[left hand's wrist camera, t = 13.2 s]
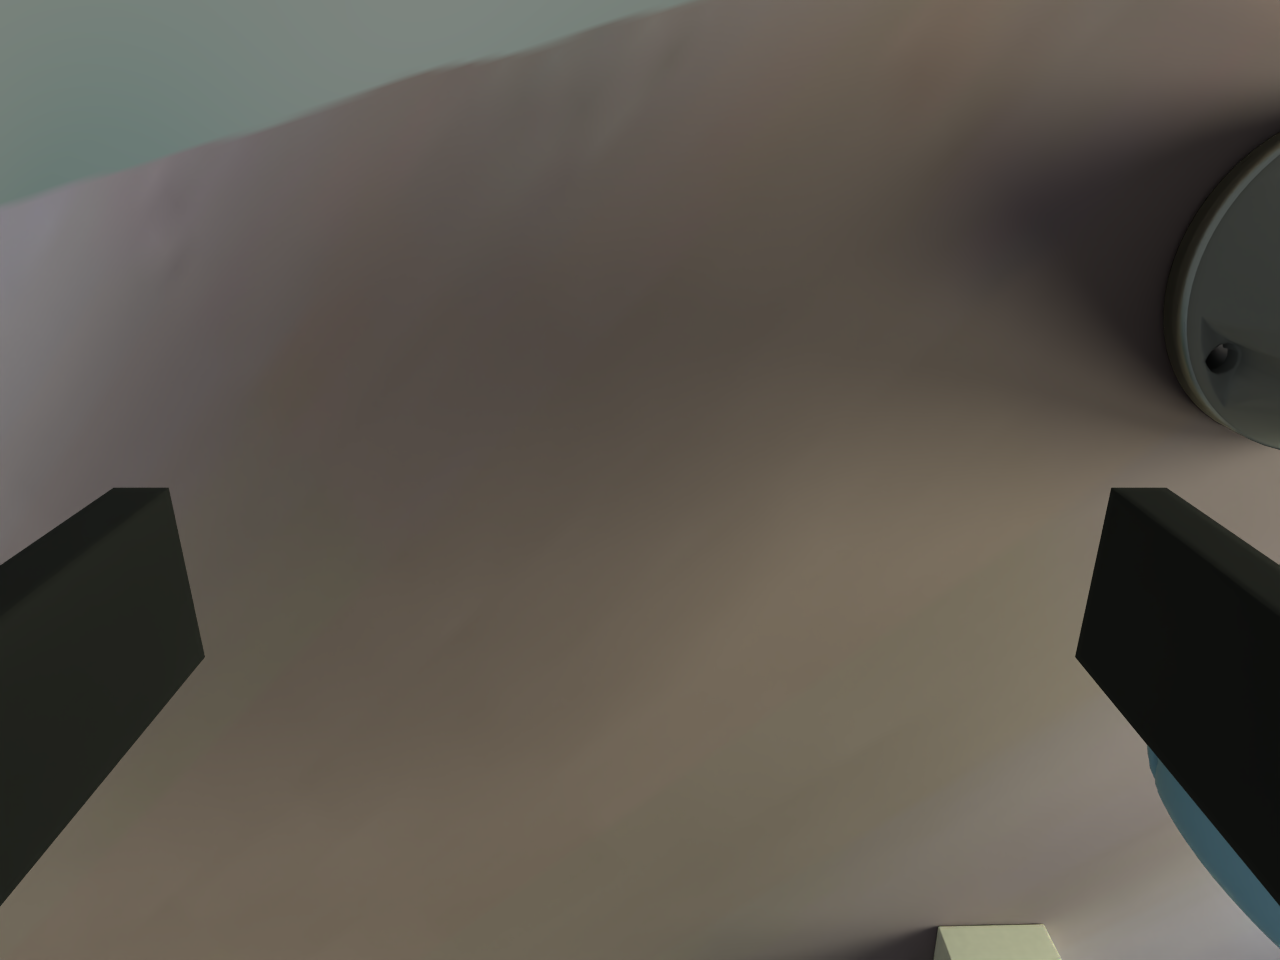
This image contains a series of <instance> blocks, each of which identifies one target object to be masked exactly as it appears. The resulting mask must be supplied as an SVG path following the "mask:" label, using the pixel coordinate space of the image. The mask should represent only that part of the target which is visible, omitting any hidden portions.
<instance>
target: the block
mask: <svg viewBox="0 0 1280 960" xmlns="http://www.w3.org/2000/svg"><path fill="white" fill-rule="evenodd" d="M934 960H1061V958H1060V956H1059V954H1058V952H1057V950H1056V948H1055V946H1054V944H1053V942H1052V940H1051V938H1050V936H1049V934H1048V932H1047V930H1046V928H1045V927H1044V925H1043V924H1033V925H986V926H939V927H938V932H937V939H936V946H935V953H934Z"/></svg>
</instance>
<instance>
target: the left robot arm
mask: <svg viewBox="0 0 1280 960" xmlns="http://www.w3.org/2000/svg"><path fill="white" fill-rule="evenodd" d="M1163 327H1164V337H1165V344H1166V348H1167V353H1168V357H1169V360H1170V363H1171V366H1172V369H1173V371H1174V373H1175V375H1176V377H1177V379H1178V381H1179V383H1180V385H1181V386H1182V388H1183V389H1184V391H1185V392H1186V394H1187V395H1188V396H1189V398H1190V399H1191V400H1192V401H1193V402H1194V404H1195V405H1197V406H1198V407H1199V408H1200V409H1201V410H1202V411H1203V412H1204V413H1205V414H1207V415H1208V416H1209V417H1211V418H1212V419H1213V420H1215V421H1216V422H1218V423H1220V424H1222V425H1223V426H1225V427H1227V428H1229V429H1231V430H1233V431H1235V432H1237V433H1239V434H1241V435H1243V436H1244V437H1246V438H1248V439H1250V440H1253V441H1255V442H1257V443H1260V444H1262V445H1265V446H1268V447H1272V448H1275V449H1279V450H1280V132H1279V133H1278V134H1276V135H1274V136H1273V137H1271V138H1270V139H1268V140H1267V141H1265V142H1264V143H1263V144H1261V145H1260V146H1259V147H1257V148H1256V149H1255V150H1253V151H1252V152H1251V153H1250V154H1249V155H1247V156H1246V157H1245V158H1244V159H1243V160H1242V161H1241V162H1239V163H1238V164H1237V165H1236V166H1235V167H1234V168H1233V169H1232V170H1231V171H1230V172H1229V173H1228V174H1227V175H1226V176H1225V177H1224V178H1223V179H1222V181H1221V182H1220V183H1219V184H1218V185H1217V187H1216V188H1215V189H1214V190H1213V191H1212V192H1211V194H1210V195H1209V196H1208V198H1207V199H1206V201H1205V202H1204V203H1203V205H1202V206H1201V208H1200V209H1199V210H1198V212H1197V214H1196V215H1195V217H1194V219H1193V220H1192V222H1191V224H1190V225H1189V227H1188V229H1187V231H1186V233H1185V235H1184V237H1183V239H1182V241H1181V243H1180V246H1179V248H1178V251H1177V253H1176V256H1175V258H1174V261H1173V264H1172V267H1171V271H1170V274H1169V278H1168V283H1167V287H1166V292H1165V301H1164V312H1163ZM204 657H205V656H204V651H203V646H202V642H201V637H200V632H199V628H198V623H197V618H196V614H195V609H194V604H193V600H192V595H191V590H190V586H189V581H188V576H187V572H186V567H185V562H184V558H183V553H182V548H181V544H180V539H179V534H178V529H177V525H176V520H175V515H174V511H173V506H172V501H171V497H170V492H169V488H113V489H111V490H110V491H108V492H107V493H105V494H104V495H102V496H101V497H99V498H98V499H96V500H95V501H94V502H92V503H91V504H89V505H88V506H86V507H85V508H83V509H82V510H80V511H79V512H78V513H76V514H75V515H73V516H72V517H70V518H69V519H67V520H66V521H64V522H63V523H62V524H60V525H59V526H57V527H56V528H54V529H53V530H51V531H50V532H48V533H47V534H45V535H44V536H43V537H41V538H40V539H38V540H37V541H35V542H34V543H32V544H31V545H29V546H28V547H27V548H25V549H24V550H22V551H21V552H19V553H18V554H16V555H15V556H13V557H12V558H10V559H9V560H8V561H6V562H5V563H3V564H2V565H0V906H1V905H2V903H3V902H4V901H5V900H6V899H7V897H8V896H9V895H10V894H11V892H12V891H13V890H14V889H15V888H16V886H17V885H18V884H19V883H20V881H21V880H22V879H23V878H24V877H25V875H26V874H27V873H28V872H29V871H30V869H31V868H32V867H33V866H34V864H35V863H36V862H37V861H38V860H39V858H40V857H41V856H42V855H43V853H44V852H45V851H46V850H47V849H48V847H49V846H50V845H51V844H52V842H53V841H54V840H55V839H56V838H57V836H58V835H59V834H60V833H61V832H62V830H63V829H64V828H65V827H66V825H67V824H68V823H69V822H70V821H71V819H72V818H73V817H74V816H75V814H76V813H77V812H78V811H79V810H80V808H81V807H82V806H83V805H84V804H85V802H86V801H87V800H88V799H89V797H90V796H91V795H92V794H93V793H94V791H95V790H96V789H97V788H98V786H99V785H100V784H101V783H102V782H103V780H104V779H105V778H106V777H107V775H108V774H109V773H110V772H111V771H112V769H113V768H114V767H115V766H116V765H117V763H118V762H119V761H120V760H121V758H122V757H123V756H124V755H125V754H126V752H127V751H128V750H129V749H130V747H131V746H132V745H133V744H134V743H135V741H136V740H137V739H138V738H139V737H140V735H141V734H142V733H143V732H144V730H145V729H146V728H147V727H148V726H149V724H150V723H151V722H152V721H153V719H154V718H155V717H156V716H157V715H158V713H159V712H160V711H161V710H162V708H163V707H164V706H165V705H166V704H167V702H168V701H169V700H170V699H171V698H172V696H173V695H174V694H175V693H176V691H177V690H178V689H179V688H180V687H181V685H182V684H183V683H184V682H185V680H186V679H187V678H188V677H189V676H190V674H191V673H192V672H193V671H194V670H195V668H196V667H197V666H198V665H199V663H200V662H201V661H202V660H203V659H204ZM1075 657H1076V659H1077V660H1078V661H1079V662H1080V663H1081V665H1082V666H1083V667H1084V668H1085V670H1086V671H1087V672H1088V673H1089V674H1090V676H1091V677H1092V678H1093V679H1094V680H1095V682H1096V683H1097V684H1098V685H1099V687H1100V688H1101V689H1102V690H1103V691H1104V693H1105V694H1106V695H1107V696H1108V698H1109V699H1110V700H1111V701H1112V702H1113V704H1114V705H1115V706H1116V707H1117V708H1118V710H1119V711H1120V712H1121V713H1122V715H1123V716H1124V717H1125V718H1126V719H1127V721H1128V722H1129V723H1130V724H1131V726H1132V727H1133V728H1134V729H1135V730H1136V732H1137V733H1138V734H1139V735H1140V737H1141V738H1142V739H1143V740H1144V741H1145V743H1146V744H1147V750H1148V757H1149V764H1150V769H1151V771H1152V774H1153V776H1154V778H1155V784H1156V787H1157V789H1158V793H1159V796H1160V798H1161V800H1162V802H1163V804H1164V806H1165V807H1166V809H1167V811H1168V813H1169V815H1170V817H1171V818H1172V820H1173V822H1174V823H1175V825H1176V827H1177V828H1178V830H1179V831H1180V833H1181V835H1182V836H1183V837H1184V839H1185V840H1186V842H1187V843H1188V845H1189V846H1190V848H1191V849H1192V850H1193V852H1194V853H1195V854H1196V856H1197V857H1198V859H1199V860H1200V861H1201V863H1202V864H1203V865H1204V866H1205V868H1206V869H1207V870H1208V871H1209V873H1210V874H1211V875H1212V877H1213V878H1214V879H1215V880H1216V881H1217V883H1218V884H1219V885H1220V886H1221V887H1222V888H1223V890H1224V891H1225V892H1226V893H1227V894H1228V895H1229V897H1230V898H1231V899H1232V900H1233V901H1234V902H1235V903H1236V904H1237V905H1238V906H1239V908H1240V909H1241V910H1242V911H1243V912H1244V913H1245V914H1246V915H1247V916H1248V917H1249V918H1250V919H1251V920H1252V922H1253V923H1254V924H1255V925H1256V926H1257V927H1258V928H1259V929H1260V930H1261V931H1262V932H1263V933H1264V934H1265V935H1266V936H1267V937H1268V938H1269V939H1270V940H1271V941H1272V942H1274V943H1275V944H1276V945H1277V946H1278V947H1279V948H1280V565H1278V564H1277V563H1275V562H1274V561H1272V560H1271V559H1270V558H1268V557H1267V556H1265V555H1264V554H1262V553H1261V552H1259V551H1258V550H1256V549H1255V548H1253V547H1252V546H1251V545H1249V544H1248V543H1246V542H1245V541H1243V540H1242V539H1240V538H1239V537H1237V536H1236V535H1235V534H1233V533H1232V532H1230V531H1229V530H1227V529H1226V528H1224V527H1223V526H1221V525H1220V524H1218V523H1217V522H1216V521H1214V520H1213V519H1211V518H1210V517H1208V516H1207V515H1205V514H1204V513H1202V512H1201V511H1200V510H1198V509H1197V508H1195V507H1194V506H1192V505H1191V504H1189V503H1188V502H1186V501H1185V500H1183V499H1182V498H1181V497H1179V496H1178V495H1176V494H1175V493H1173V492H1172V491H1170V490H1169V489H1167V488H1111V492H1110V497H1109V501H1108V506H1107V511H1106V515H1105V520H1104V525H1103V529H1102V534H1101V539H1100V544H1099V548H1098V553H1097V558H1096V562H1095V567H1094V572H1093V576H1092V581H1091V586H1090V590H1089V595H1088V600H1087V604H1086V609H1085V614H1084V618H1083V623H1082V628H1081V632H1080V637H1079V642H1078V646H1077V651H1076V656H1075Z"/></svg>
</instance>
